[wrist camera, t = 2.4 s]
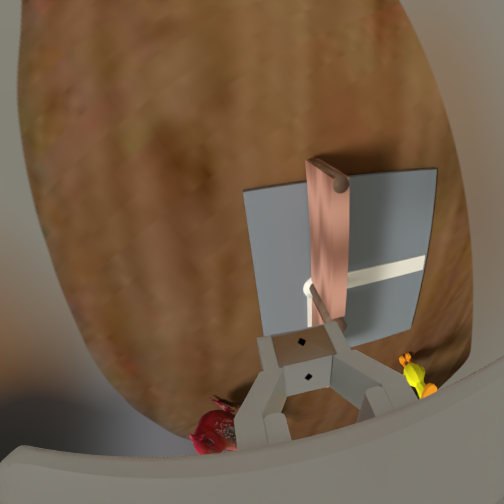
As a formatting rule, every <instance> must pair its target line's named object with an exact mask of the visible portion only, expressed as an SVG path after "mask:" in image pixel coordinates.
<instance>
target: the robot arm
mask: <svg viewBox="0 0 504 504" xmlns="http://www.w3.org/2000/svg"><path fill="white" fill-rule="evenodd" d="M257 344H258V350H259V356H260V362H261V368H262V371H261V372H259V374H258V376H257V378H256V380H255V382H254V383H253V385H252V387H251V389H250V391H249V393H248V395H247V396H246V398H245V400H244V402H243V404H242V405H241V407H240V409H239V411H238V413H237V414H236V416H235V418H234V426H235V434H236V442H237V450H238V451H230V452H223V453H213V454H203V455H190V456H173V457H116V456H98V455H87V454H77V453H68V452H60V451H53V450H47V449H41V448H36V447H31V446H19V447H18V448H17V449H15V450H14V451H12V452H11V453H10V454H9V455H8V456H7V457H6V458H5V459H4V460H3V461H2V462H1V463H0V504H504V355H503V356H502V357H500V358H498V359H497V360H495V361H493V362H492V363H490V364H488V365H487V366H485V367H483V368H482V369H480V370H478V371H476V372H474V373H473V374H471V375H469V376H467V377H465V378H463V379H461V380H459V381H457V382H456V383H454V384H452V385H450V386H448V387H446V388H443V389H441V390H439V391H437V392H435V393H433V394H431V395H429V396H426V397H424V398H422V399H419V400H418V398H417V397H416V395H415V393H414V391H413V390H412V388H411V386H410V384H409V383H408V381H407V379H406V378H405V376H404V375H402V374H400V373H398V372H397V371H395V370H393V369H391V368H389V367H387V366H385V365H383V364H381V363H379V362H378V361H376V360H374V359H372V358H370V357H368V356H366V355H364V354H363V353H361V352H359V351H357V350H351V349H350V347H349V345H348V343H347V341H346V339H345V337H344V335H343V333H342V331H341V330H340V328H339V326H338V324H337V322H335V321H332V322H328V323H324V324H320V325H316V326H312V327H307V328H303V329H299V330H295V331H290V332H284V333H279V334H273V335H269V336H263V337H257ZM328 386H330V387H331V388H332V389H333V390H335V391H336V392H337V393H339V394H340V395H341V396H342V397H344V398H345V399H346V400H348V401H349V402H350V403H352V404H353V405H354V406H356V407H357V408H358V409H360V412H359V416H358V419H357V422H356V424H353V425H349V426H346V427H343V428H339V429H336V430H333V431H329V432H325V433H322V434H318V435H314V436H310V437H306V438H302V439H298V440H293V441H292V440H291V436H290V433H289V429H288V425H287V422H286V418H285V414H282V413H281V411H282V409H283V406H284V404H285V401H286V398H287V396H291V395H295V394H299V393H303V392H307V391H311V390H315V389H320V388H324V387H328Z"/></svg>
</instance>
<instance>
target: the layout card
mask: <svg viewBox="0 0 504 504" xmlns="http://www.w3.org/2000/svg"><path fill="white" fill-rule="evenodd" d="M436 175H437V169H435V168H429V169H415V170H402V171H391V172H380V173H370V174H360V175H351V176H349V255H348V277H347V294H346V308H345V316H343V318H344V320H345V322H346V324H347V328H346V330H345V331H344V332H343V335H344V337H345V339H346V341H347V343H348V345H349V347H354V346H357V345H361V344H364V343H368V342H371V341H374V340H378V339H381V338H384V337H387V336H390V335H394V334H397V333H400V332H403V331H406V330H409V329H410V328H411V324H412V321H413V317H414V313H415V309H416V305H417V301H418V296H419V292H420V287H421V283H422V278H423V273H424V268H425V262H426V257H427V251H428V245H429V239H430V232H431V225H432V217H433V208H434V199H435V188H436ZM243 196H244V203H245V210H246V217H247V224H248V231H249V237H250V244H251V251H252V258H253V265H254V272H255V279H256V286H257V292H258V299H259V306H260V313H261V320H262V327H263V334H264V336H269V335H273V334H279V333H284V332H290V331H295V330H299V329H303V328H307V327H312V298H313V296H312V294H311V292H310V290H309V288H310V285H311V284H312V281H311V251H310V227H309V208H308V191H307V181H302V182H295V183H288V184H281V185H275V186H268V187H261V188H255V189H249V190H243Z"/></svg>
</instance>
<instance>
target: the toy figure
mask: <svg viewBox="0 0 504 504" xmlns="http://www.w3.org/2000/svg"><path fill="white" fill-rule="evenodd" d="M410 359H411V356H410V354H409V352H408V353H406V354H405V358H404V356H403V355H402V356H400V358H399V361H400V363H401V364H403V366H404V373H403V375H404V376H405V378H406V379H407V381H408V383H409V384H410V386H413V387H415V388H416V390H417V392H418V395H419V397H420V399H422V398H424V397H426V396H429V395H431V394H433V393H435V392H437V387H436V386H435V385H434V384H432V383H428V384H425V383H424V375H425V371H424V368H423V366H422V367H421V368H420V367H419V365H417V364H414V363H411V361H410ZM405 361H406V362H407V361H408V363H409V364H408V365H407V366H406V365H405V363H404V362H405Z"/></svg>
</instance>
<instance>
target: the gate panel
mask: <svg viewBox="0 0 504 504" xmlns="http://www.w3.org/2000/svg"><path fill="white" fill-rule="evenodd" d="M305 162H306V176H307V191H308V208H309V227H310V251H311V281H312V283H313V284H314V286H315V288H316V290H317V292H318V294H319V296H320V298H321V300H322V301H323V303H324V305H325V307H326V309H327V311H328V313H329V315H330V317H331V319H335V318H339V317H343V316H345V308H346V294H347V277H348V255H349V176H347V175H346V174H344V173H342V172H341V171H339V170H337V169H336V168H334V167H333V166H331V165H329V164H328V163H326V162H324V161H323V160H321V159H319V158H317V159H316V158H310V159H308V160H305Z"/></svg>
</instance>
